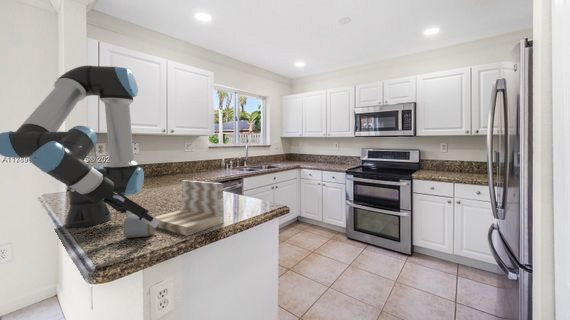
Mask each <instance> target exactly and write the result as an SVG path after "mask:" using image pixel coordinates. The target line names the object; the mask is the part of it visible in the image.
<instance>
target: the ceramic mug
mask: <svg viewBox="0 0 570 320" xmlns="http://www.w3.org/2000/svg"><path fill="white" fill-rule="evenodd" d="M155 232H156V228H154V227H152V226H151V225H149V224H148V223H146V222H144V221H143V220H139V217H138V216H137V215H129V216H126V218H125V220H124V223H123V236H124V237H125V238H127V239H133V238H145V237H150V236H152V235H153V234H154V233H155Z"/></svg>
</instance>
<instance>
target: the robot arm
mask: <svg viewBox="0 0 570 320" xmlns="http://www.w3.org/2000/svg"><path fill="white" fill-rule="evenodd" d="M53 87H54V88H53V89H52V90H51V92H50V93H49V94H48V95H47V96H46V97H45V98H44V99H43V100H42V102H41V103H40V104H39V105H38V106H37V107H36V108H35V109H34V111H33V112H32V113H31V114H30V115H29V116H28V117H27V118H26V120H24V122H23V123H22V124H21V125H20V126H19V127H18V129H17V130H16V131H13V130H12V131H11V130H10V131H3V132H0V156H2V157H4V158H10V159H11V158H12V159H13V158H15V159H18V158H19V159H24V158H25V159H26V158H27V159H29V163H31V165H34V166H35V167H36V168H37V169H39V170H40V171H42V172H43V173H45V174H47V175H49V176H51V177H52V178H54V179H56V180H57V181H59V182H60V183H62V184H64V185H65V186H67V187H68V196H69V197H68V198H69V209H68V212H67V215H66V217H65V221H64V223H65V227H66V226H67V227H66V228H84V227H85V228H86V227H89V226H90V227H91V226H94V225H95V226H96V225H101V224H104V223H106V222H109V221H110V220H112V212H111V210H110V209H109V207H108V206H110V207H111V208H112V209H114V210H116V212H118V213H121V214H123V215H125V216H126V217H127V216H129V215H137V216H138V217H139V220H143V221H144V222H146V223H148V224H149V225H151V226H152V227H154V228H155V229H156V228H158V227H157V226H158V224H159V223H160V221H159V220H158V219H157V218H155V215H153V214H151V213H150V212H149V210H148V209H146V208H144V207H143V206H141V205H140V204H139V203H136V202H135V201H133V200H131V199H130V198H128V196H132V195H138V194H139V193H140V192H141V190H142V189H143V185H144V180H145V173H144V172H145V171H144V169H143V168H142V167H139V163H138V162H136V161H135V159H134V147H133V136H132V134H133V133H132V123H131V122H132V120H131V119H132V118H131V110H130V109H131V107H130V105H131V104H132V103H133V102H134V98H135V97H138V95H139V93H138V92H139V90H138V89H139V88H138V84H137V81H136V78H135V76H134V74H133V73H132V71H131V70H130V69H129V68H127V67H121V66H100V65H81V66H78V67H74V68H72V69H70V70H68V71H66V72H65V73H63V74H61V76H59V77H58V78H57V79H56V80H55V82H54V84H53ZM89 96H91V97H92V96H98V97H99V100H100V101H101V102H102V103H104V109H105V110H104V111H105V112H104V113H105V120H106V121H105V122H106V130H107V131H106V132H107V142H108V143H107V145H108V155H109V162H108V163H107V164H106V165H105V168H104V167H103V166H102V165H100V166H91V165H90V164H88V163H87V162H86V161H85V160H86V158H87V157H88V156H89V154H90V153H91V151H92V150H93V149H95V148H94V147H95V145H96V143H97V142H98V135H97V133H96V132H95V131H94V130H93V129H92V128H90V127H87V126H84V125H75V126H73V127H71V128H70V129H68V130H67V131H58V130H59V129H60V127H61V126H62V125H63V123H64V122H65V121H66V119H67V117H69V115H70V113H72V111H73V110H74V108H75V106H76V105H77V104H78V102H81V101H84V99H85V98H86V97H89Z"/></svg>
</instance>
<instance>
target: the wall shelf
mask: <svg viewBox="0 0 570 320" xmlns="http://www.w3.org/2000/svg"><path fill="white" fill-rule="evenodd" d="M223 187H224V185H223V182H211V181H199V180H186V179H184V180H181V192H182V193H181V194H182V209H179V210H175V211H170V212H167V213H162V214H160V215H156V216H155V215H154V217H155V218H157V219H158V220H159V221H160V223H159V224H158V226H157V227H156V228H157V229H161V230H162V229H163V230H165V231H169V232H172V233H176V234H180V235H182V236H183V235H184V236H187V237H188V236H190V235H194V234H196V233H199V232H202V231H204V230H207V229H209V228H213V227H215V226H218V225H221V224H225V214H224V211H225V210H224V208H225V207H224V188H223Z"/></svg>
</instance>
